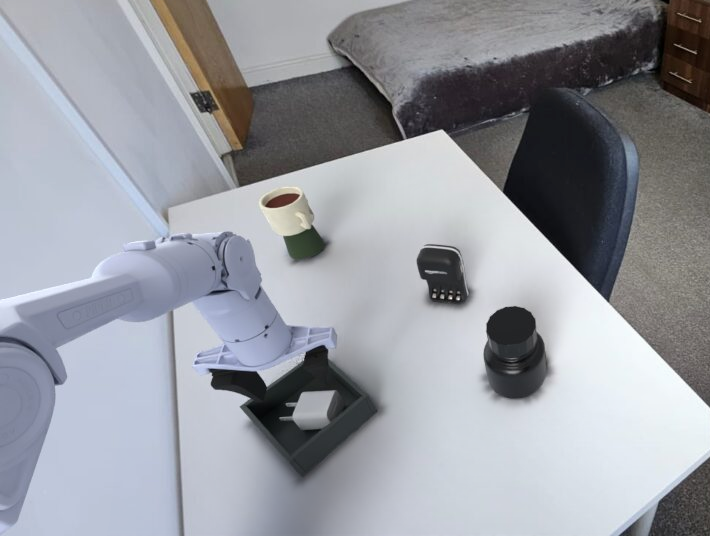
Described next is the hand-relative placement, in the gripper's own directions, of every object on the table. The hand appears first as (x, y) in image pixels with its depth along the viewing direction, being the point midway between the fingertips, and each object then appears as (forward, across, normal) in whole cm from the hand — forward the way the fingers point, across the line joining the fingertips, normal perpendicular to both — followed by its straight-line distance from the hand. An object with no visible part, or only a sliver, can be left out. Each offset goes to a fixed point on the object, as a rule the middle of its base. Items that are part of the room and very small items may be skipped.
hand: (295, 387), depth 61 cm
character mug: (+8, +6, -37) cm, 38 cm away
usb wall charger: (+7, 0, 0) cm, 7 cm away
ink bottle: (+8, -28, +1) cm, 29 cm away
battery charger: (+8, -19, -18) cm, 27 cm away
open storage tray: (+8, 0, 0) cm, 8 cm away
